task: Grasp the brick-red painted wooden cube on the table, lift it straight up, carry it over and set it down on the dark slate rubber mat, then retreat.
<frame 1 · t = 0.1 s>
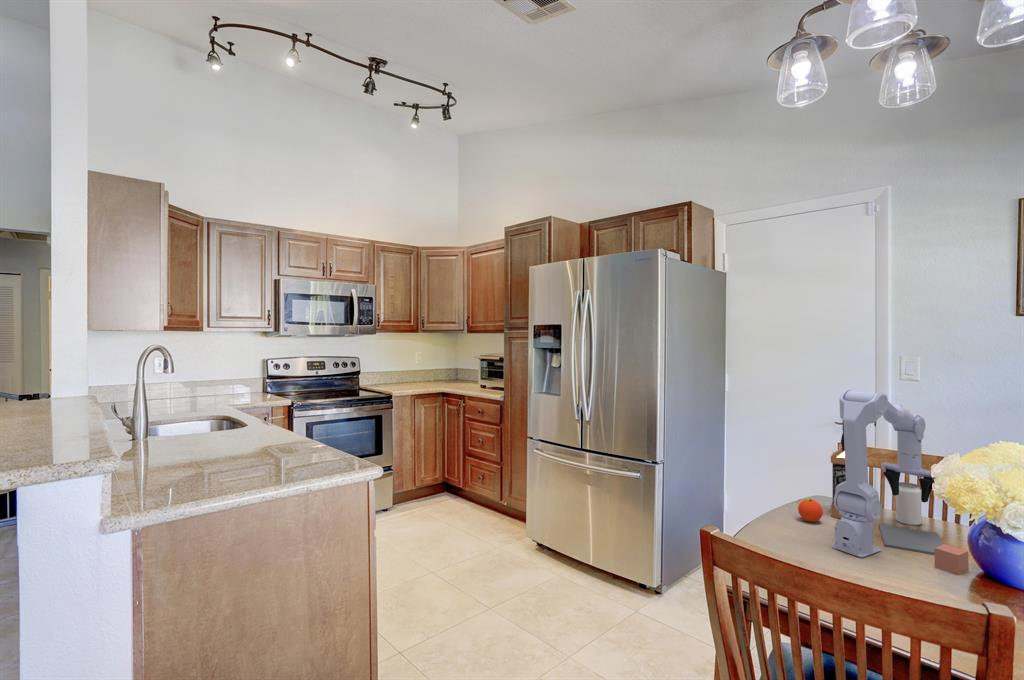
hand: (909, 498, 152), 10 cm above the table, tool pointing down, fingers open, 7 cm apart
brick cube: (951, 569, 127), on the table
clementine: (808, 521, 162), on the table
whiskey bottle: (850, 516, 165), on the table
can: (908, 522, 159), on the table
slate mat: (911, 540, 145), on the table
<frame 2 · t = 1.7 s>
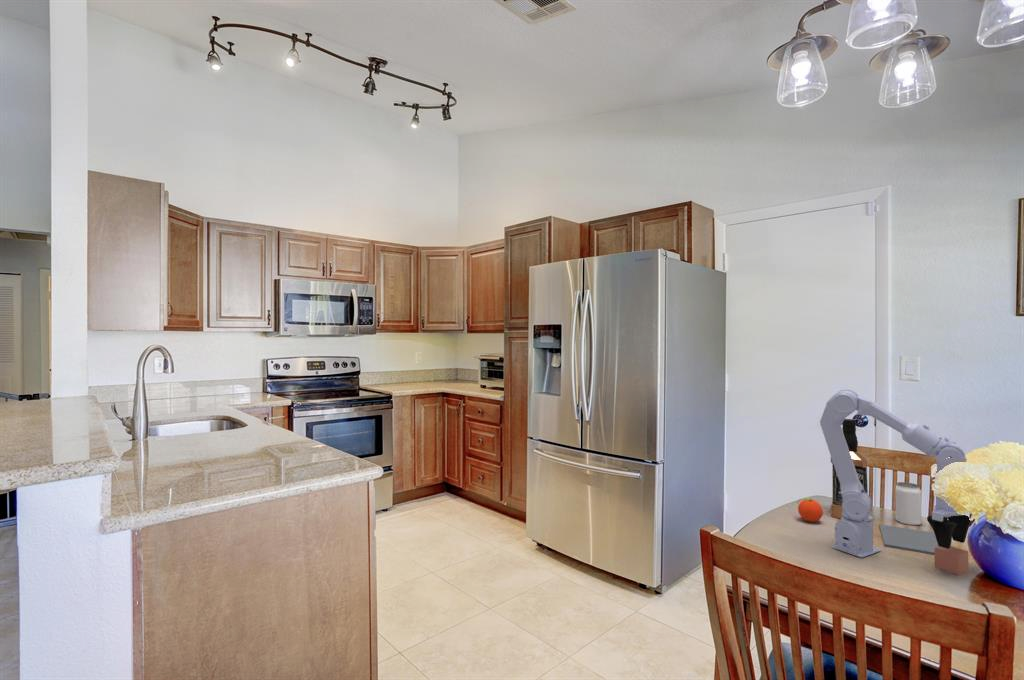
hand: (951, 544, 127), 6 cm above the table, tool pointing down, fingers open, 7 cm apart
nothing on the table moved.
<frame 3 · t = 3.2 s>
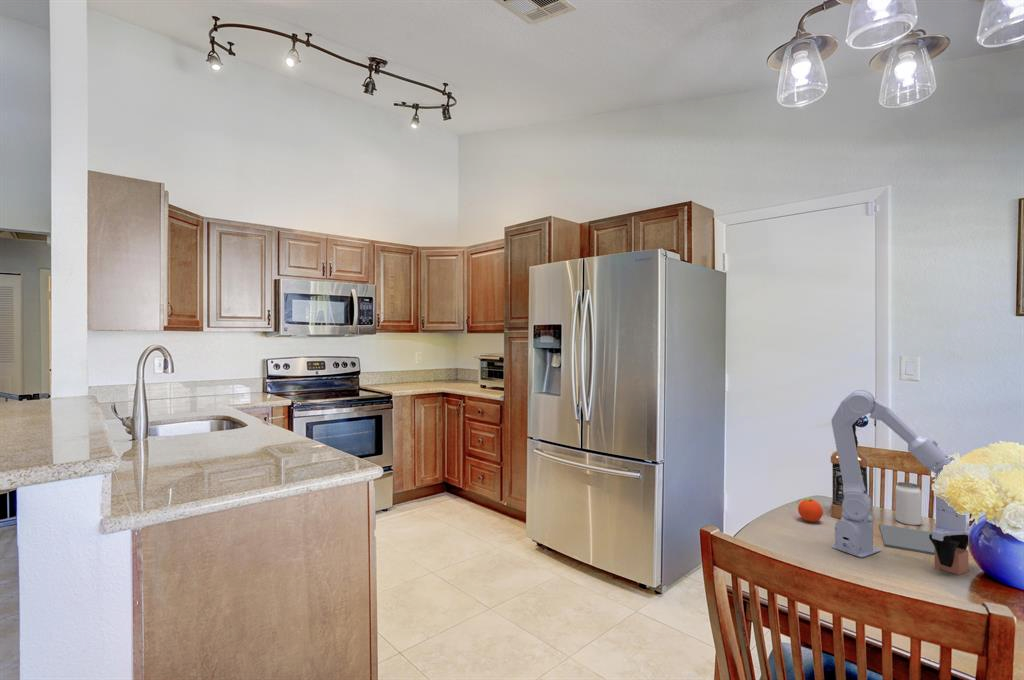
hand: (951, 563, 127), 1 cm above the table, tool pointing down, fingers closed on brick cube, 5 cm apart
brick cube: (951, 568, 127), on the table, touching gripper
everything else where it was.
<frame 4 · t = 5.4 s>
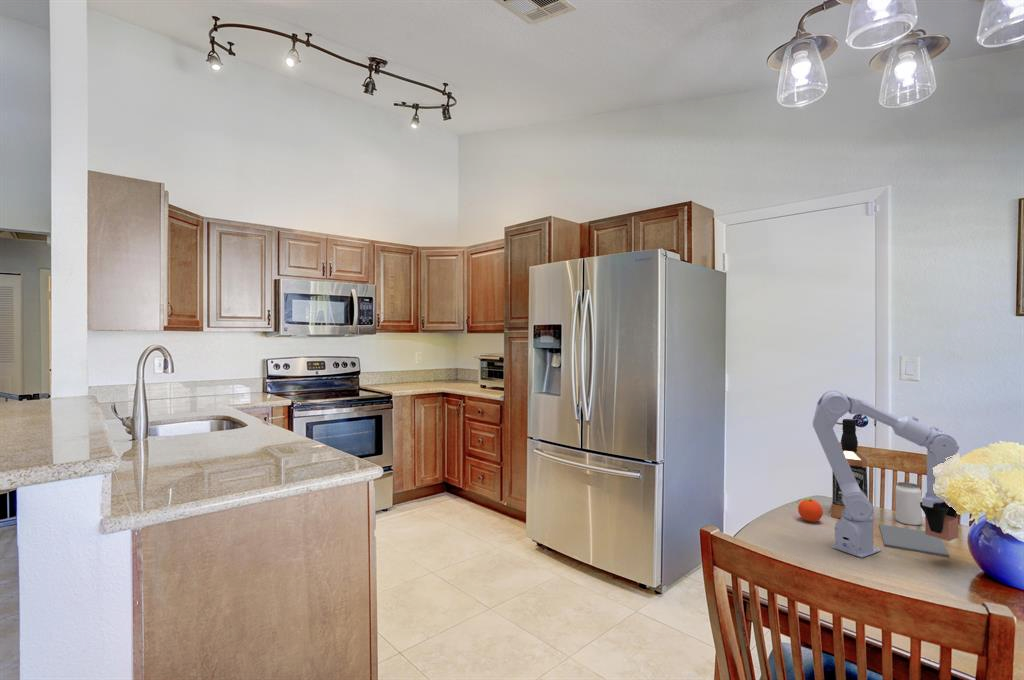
hand: (941, 530, 131), 8 cm above the table, tool pointing down, fingers closed on brick cube, 5 cm apart
brick cube: (941, 535, 131), point 7 cm above the table, touching gripper
everything else where it was.
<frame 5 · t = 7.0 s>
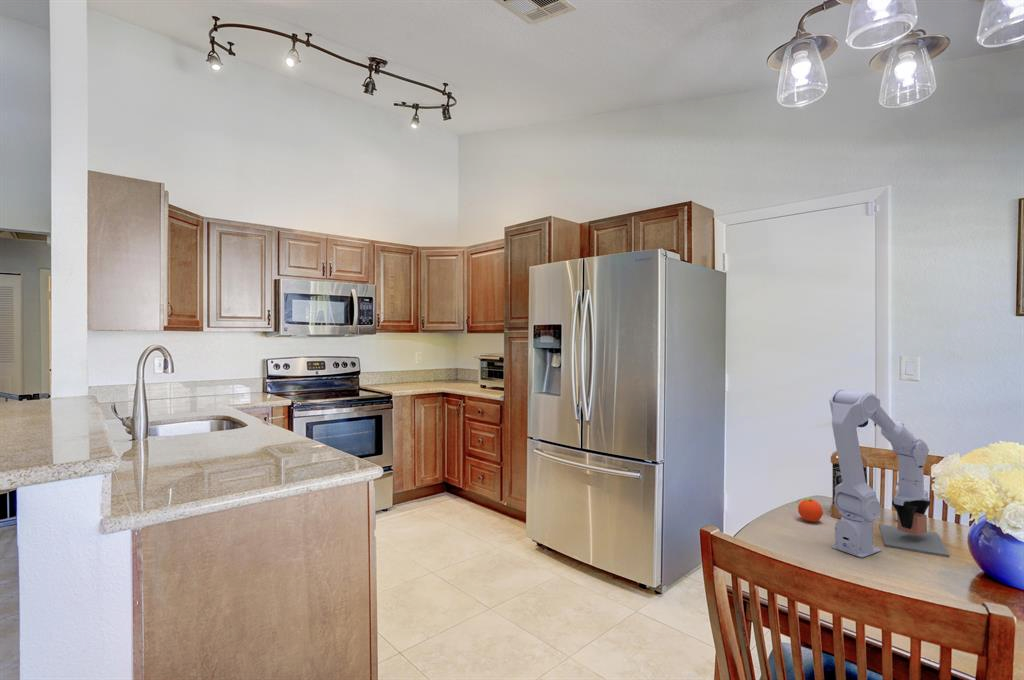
hand: (911, 525, 145), 4 cm above the table, tool pointing down, fingers closed on brick cube, 5 cm apart
brick cube: (912, 531, 145), point 3 cm above the table, touching gripper
everything else where it was.
when the fingers open (3 cm above the table, at t = 8.1 s): brick cube drops 1 cm, resting on slate mat.
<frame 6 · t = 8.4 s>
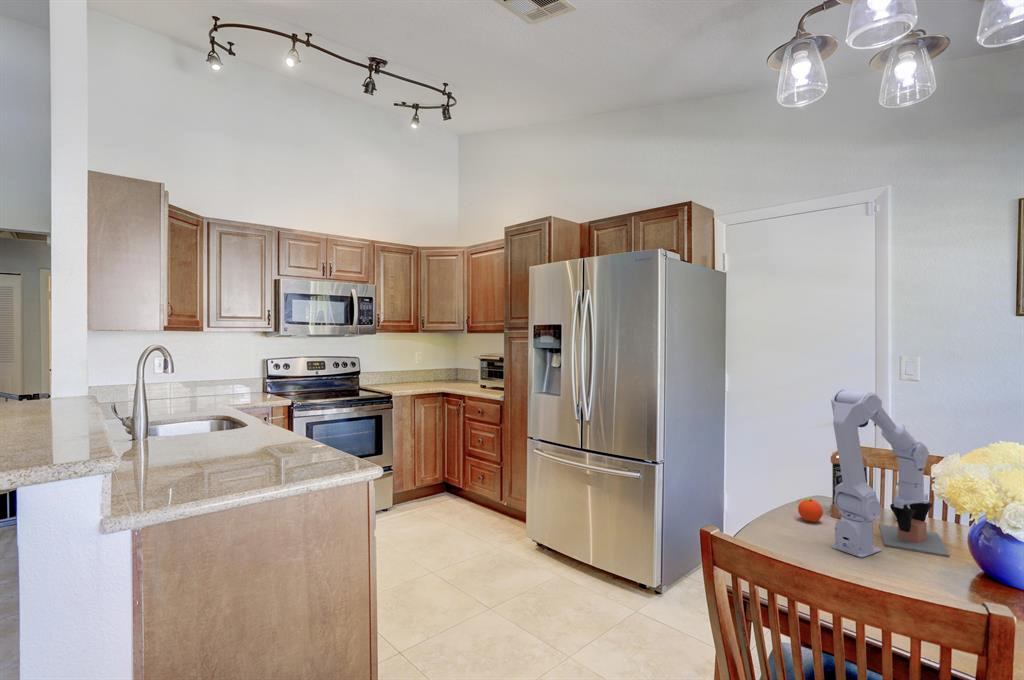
hand: (911, 528, 145), 3 cm above the table, tool pointing down, fingers open, 7 cm apart
brick cube: (912, 538, 145), point 1 cm above the table, touching slate mat
everything else where it was.
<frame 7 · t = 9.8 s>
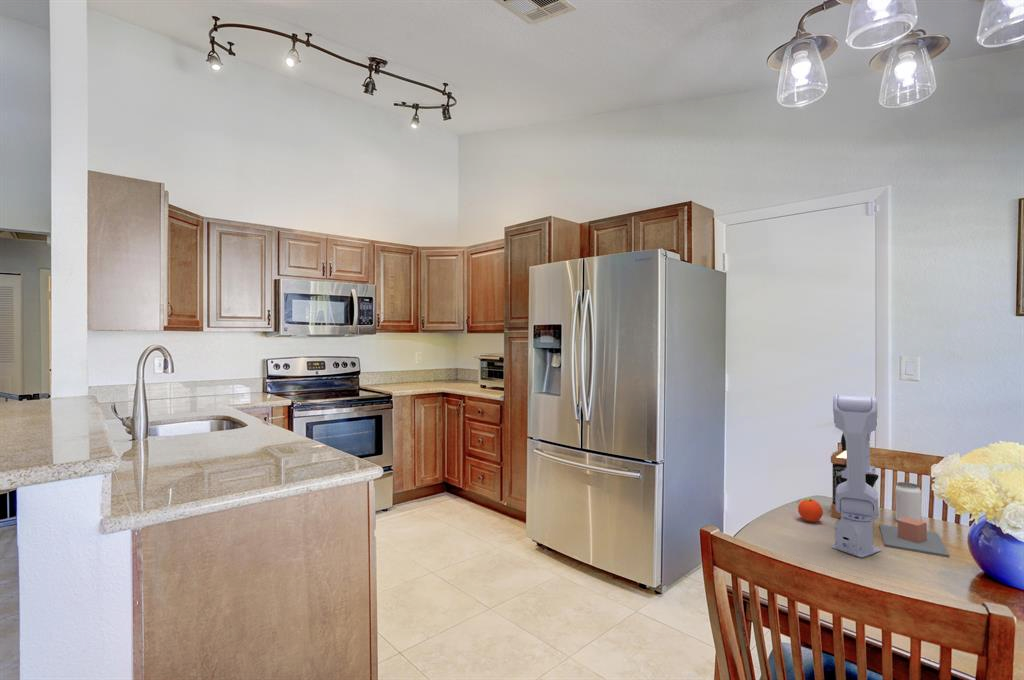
hand: (858, 498, 154), 9 cm above the table, tool pointing down, fingers open, 7 cm apart
nothing on the table moved.
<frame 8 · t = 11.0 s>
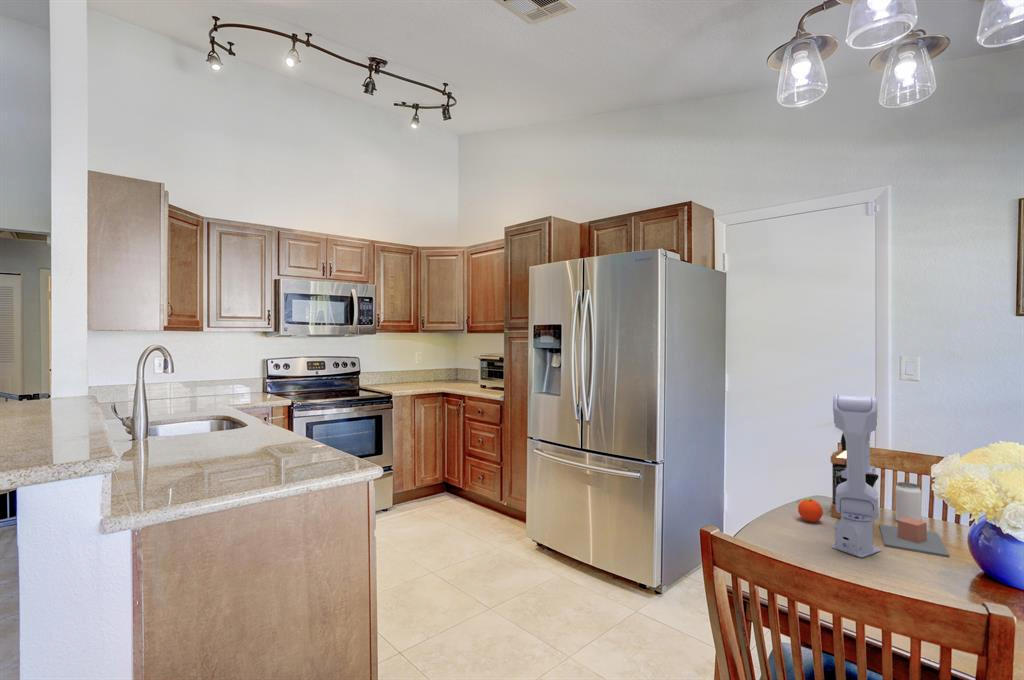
hand: (858, 498, 154), 9 cm above the table, tool pointing down, fingers open, 7 cm apart
nothing on the table moved.
at the end: brick cube inside the target area on the slate mat (0.1 cm from its centre), point 0.6 cm above the slate mat's base; brick cube tilted 0°; the gripper is holding nothing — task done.
